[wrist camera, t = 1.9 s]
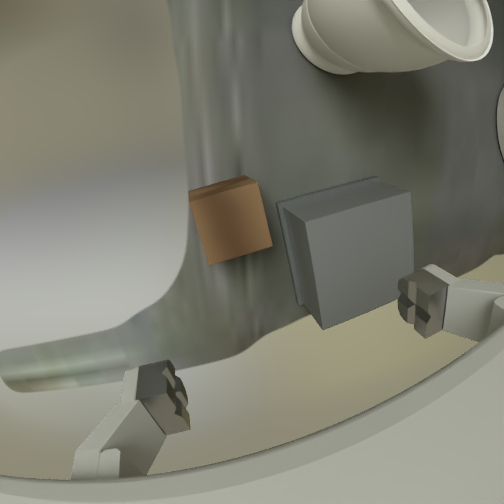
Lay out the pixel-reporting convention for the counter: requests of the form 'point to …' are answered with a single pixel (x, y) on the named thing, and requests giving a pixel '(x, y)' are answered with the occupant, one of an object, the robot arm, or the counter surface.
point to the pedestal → (348, 247)
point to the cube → (230, 219)
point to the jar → (391, 33)
